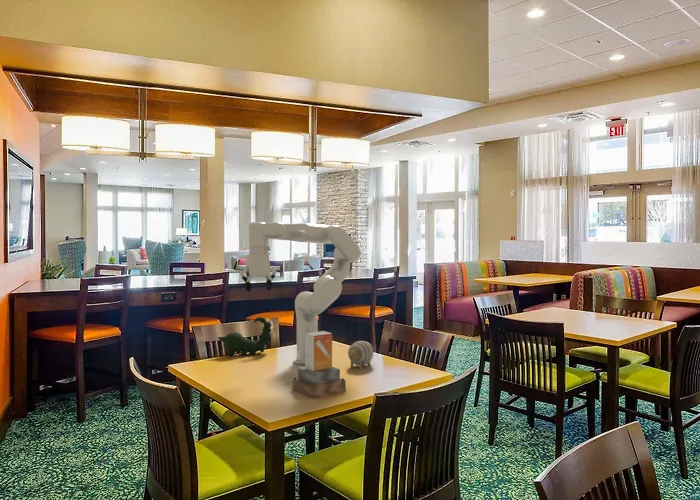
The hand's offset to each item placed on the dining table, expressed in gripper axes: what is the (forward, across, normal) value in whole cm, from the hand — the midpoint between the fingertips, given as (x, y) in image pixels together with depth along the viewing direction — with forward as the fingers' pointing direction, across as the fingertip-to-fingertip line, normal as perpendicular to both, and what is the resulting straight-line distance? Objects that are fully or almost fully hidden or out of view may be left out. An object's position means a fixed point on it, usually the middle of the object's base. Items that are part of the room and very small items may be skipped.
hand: (258, 290), depth 221 cm
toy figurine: (+34, -6, -27) cm, 44 cm away
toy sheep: (+34, -36, +26) cm, 56 cm away
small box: (+26, -2, +44) cm, 50 cm away
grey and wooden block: (+33, -2, +44) cm, 55 cm away
